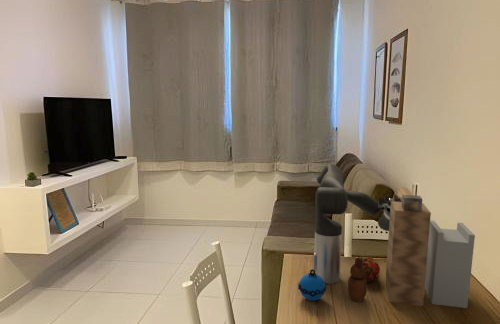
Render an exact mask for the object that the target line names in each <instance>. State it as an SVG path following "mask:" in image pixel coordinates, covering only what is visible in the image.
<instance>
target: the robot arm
mask: <svg viewBox="0 0 500 324" xmlns="http://www.w3.org/2000/svg"><path fill="white" fill-rule="evenodd" d="M343 178H344V172H343V170H342V169H341V168H340V167H339V166H337V165H336V164H332V163H329V164H326V165H325V167H324V168H323V169H322V171H321V172H320V173H319V175H318V176H317V178H316V182H317V184H319V187H318V188H317V189H316V191H315V197H314V198H315V203H314V204H315V224H314V225H315V228H314V249H313V251H314V252H313V263H312V264H313V266H312V269H313V270H315V274H317V275H319V276H320V277H321V278H322V279H323V281H324V282H325V284H328V285H329V284H335V283H339V281H340V280H341V278H340V276H341V259H342V258H341V255H342V252H341V251H342V234H343V233H342V232H343V227H342V225H341V224H340V223H339V222H337V221H335V220H333V219H330V218H329V217H327V215H342V214H344V213H345V212H346V211H347V209H348V202H349V203H351V204H353V205H354V206H356V207H357V208H359V209H360V210H361V211H363V212H365V213H366V214H367V215H369V216H371V217H374V216H376V215H377V214H378V213H379V211H382V214H381V215H380V217H379V219H378V220H377V225H378V227H379V229H381V230H383V231H386V232H389V221H390V206H391V201H394V202H402V201H401V199H400V198H399V197H393V198H390V195H387V196H384V198H382V197H379V198H378V199H377V200H376V199H374V198H373V197H372V196H370V195H369V194H366V193H365V192H360V191H350V190H346V189H345V185H344V182H343V181H344V179H343ZM312 273H314V272H313V271H312Z"/></svg>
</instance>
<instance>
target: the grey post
mask: <svg viewBox="0 0 500 324" xmlns="http://www.w3.org/2000/svg"><path fill="white" fill-rule="evenodd" d="M475 238H476V235H475V233H473V231H472V230H470V228H468V227H467V225H465V224H464V223H463V222H457V224H456V229H452V228H441V227H440V226H439V225H438V223H437V222H436V221H435V220H430V229H429V240H428V252H427V264H426V276H425V288H424V290H426V293H427V296H428V298H429V300H430V302H431V304H432V305H438V306H445V307H446V306H447V307H453V308H462V309H463V308H464V309H468V306H469V305H468V304H469V294H470V285H471V277H472V268H473V267H472V266H473V258H474V257H473V256H474V248H475V247H474V246H475V240H476V239H475Z"/></svg>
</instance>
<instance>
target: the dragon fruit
mask: <svg viewBox="0 0 500 324" xmlns="http://www.w3.org/2000/svg"><path fill="white" fill-rule="evenodd" d="M362 266H364V268H365V276H364V278H365V280H366V283H370V282H372V281H377V280H379V274H380V271H381V269H380V265H379V263H378V262H375V260H374V259H373V258H372V257H370V256H369V257H367V258H362Z"/></svg>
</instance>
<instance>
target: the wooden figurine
mask: <svg viewBox="0 0 500 324" xmlns="http://www.w3.org/2000/svg"><path fill="white" fill-rule="evenodd" d="M362 259H363V256H360V255H358V257H357V258H356V259H354V264H352V265H351V266H350V270H349V271H350V272H349V273H350V276H349V277H348V279H347V294H348V297H349V299H351V300H352V301H354V302H362V301H363V300H364V299H365V296H366V294H367V282H366V280H365V278H364V276H365V268H364V266H362Z"/></svg>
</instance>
